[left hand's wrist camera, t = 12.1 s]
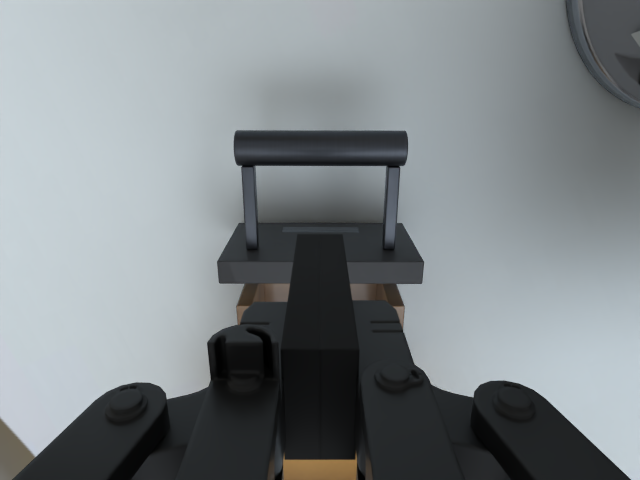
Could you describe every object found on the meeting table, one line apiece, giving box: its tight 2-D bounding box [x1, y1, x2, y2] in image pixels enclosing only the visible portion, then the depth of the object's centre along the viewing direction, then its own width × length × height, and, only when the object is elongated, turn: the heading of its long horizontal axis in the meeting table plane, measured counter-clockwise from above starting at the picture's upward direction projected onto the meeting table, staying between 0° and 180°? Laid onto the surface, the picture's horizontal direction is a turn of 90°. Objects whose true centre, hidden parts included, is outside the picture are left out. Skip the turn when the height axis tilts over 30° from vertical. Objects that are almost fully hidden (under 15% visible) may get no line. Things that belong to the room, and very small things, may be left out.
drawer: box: [217, 130, 424, 329], centre depth 26 cm, size 23×10×6 cm, turn 0°
